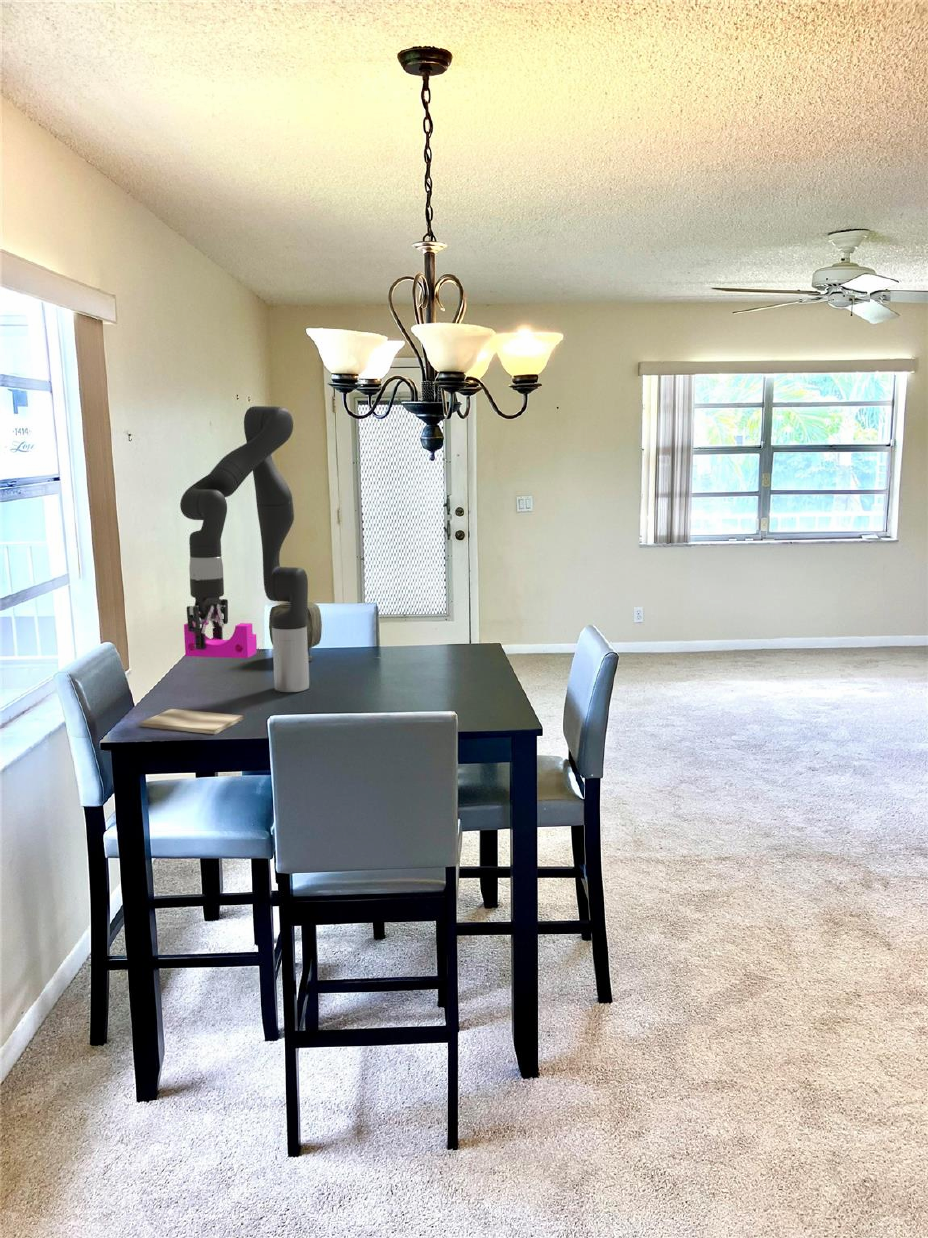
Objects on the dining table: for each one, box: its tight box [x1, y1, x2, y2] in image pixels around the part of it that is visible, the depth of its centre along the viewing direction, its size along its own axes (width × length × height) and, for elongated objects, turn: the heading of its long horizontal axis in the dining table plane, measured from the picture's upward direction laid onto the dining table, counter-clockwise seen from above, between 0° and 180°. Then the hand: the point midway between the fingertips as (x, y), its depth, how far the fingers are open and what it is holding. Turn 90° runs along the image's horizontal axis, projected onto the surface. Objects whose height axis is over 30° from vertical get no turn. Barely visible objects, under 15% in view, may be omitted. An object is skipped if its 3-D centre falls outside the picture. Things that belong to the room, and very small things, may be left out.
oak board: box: [139, 708, 244, 735], centre depth 210 cm, size 12×20×1 cm, turn 73°
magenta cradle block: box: [183, 622, 258, 659], centre depth 207 cm, size 15×6×8 cm, turn 84°
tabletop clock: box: [268, 601, 323, 662], centre depth 276 cm, size 14×9×25 cm, turn 77°
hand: (209, 646), depth 208 cm, fingers closed on magenta cradle block, 7 cm apart
